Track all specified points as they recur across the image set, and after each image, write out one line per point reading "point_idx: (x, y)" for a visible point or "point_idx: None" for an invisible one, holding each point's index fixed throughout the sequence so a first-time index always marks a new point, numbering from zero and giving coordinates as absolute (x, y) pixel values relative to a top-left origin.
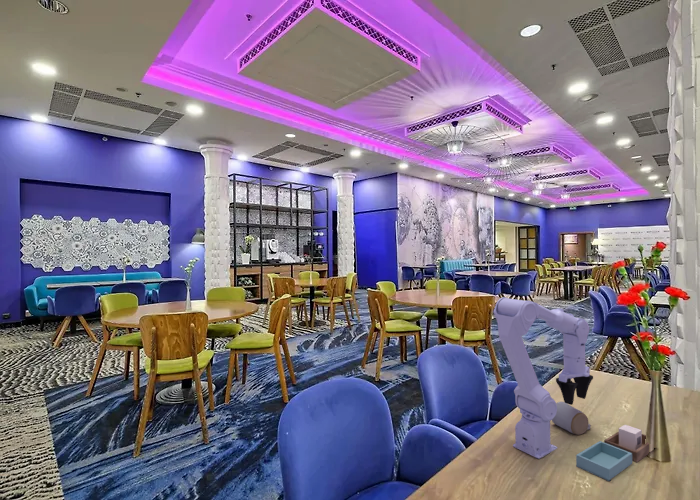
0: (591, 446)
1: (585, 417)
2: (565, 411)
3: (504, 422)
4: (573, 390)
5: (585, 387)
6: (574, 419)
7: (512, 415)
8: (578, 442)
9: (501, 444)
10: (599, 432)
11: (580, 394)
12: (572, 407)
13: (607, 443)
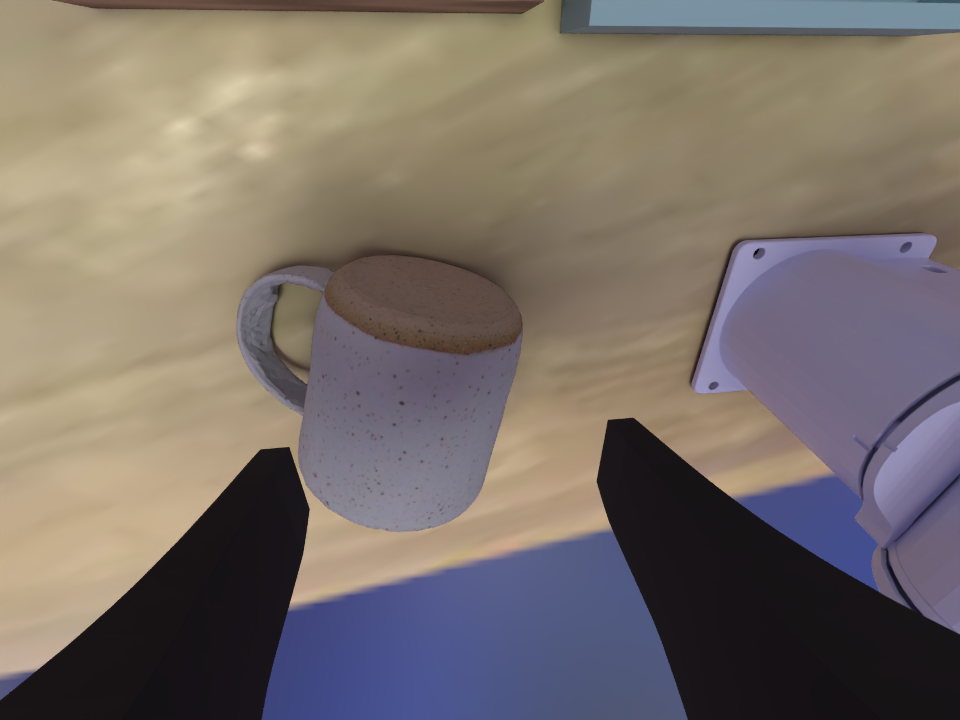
0: (761, 20)
1: (379, 299)
2: (483, 427)
3: None
4: (843, 591)
5: (208, 609)
6: (507, 328)
7: (515, 547)
8: (539, 214)
9: None
10: (238, 208)
11: (289, 520)
12: (390, 435)
13: None
